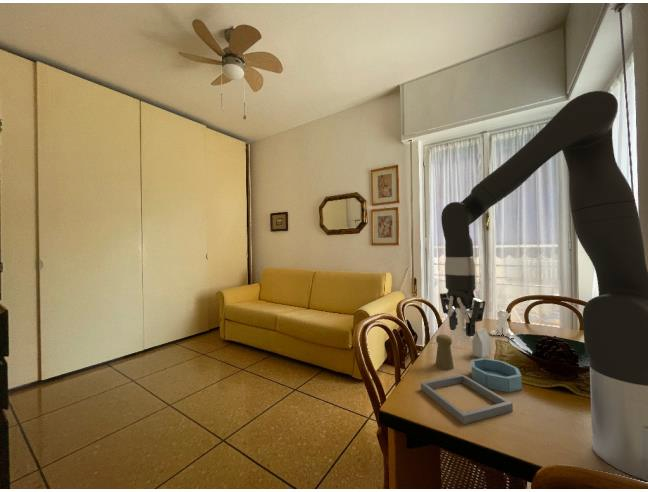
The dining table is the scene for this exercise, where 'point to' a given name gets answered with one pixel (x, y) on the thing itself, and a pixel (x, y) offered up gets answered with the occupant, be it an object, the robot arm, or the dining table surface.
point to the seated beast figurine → (502, 324)
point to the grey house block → (481, 344)
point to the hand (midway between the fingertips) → (461, 332)
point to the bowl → (496, 374)
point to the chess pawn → (460, 328)
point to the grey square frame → (477, 414)
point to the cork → (444, 352)
